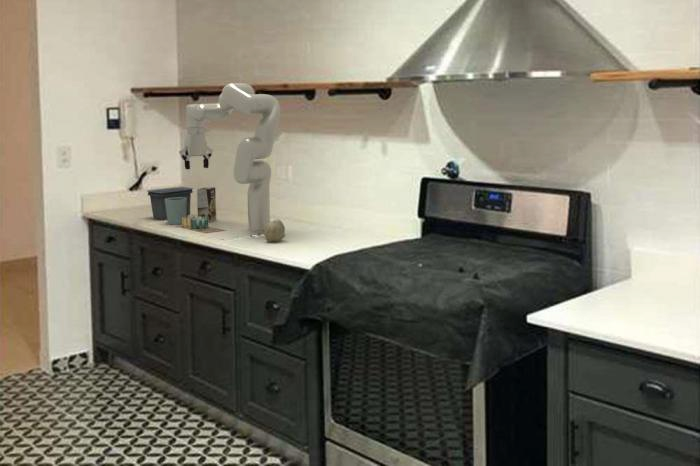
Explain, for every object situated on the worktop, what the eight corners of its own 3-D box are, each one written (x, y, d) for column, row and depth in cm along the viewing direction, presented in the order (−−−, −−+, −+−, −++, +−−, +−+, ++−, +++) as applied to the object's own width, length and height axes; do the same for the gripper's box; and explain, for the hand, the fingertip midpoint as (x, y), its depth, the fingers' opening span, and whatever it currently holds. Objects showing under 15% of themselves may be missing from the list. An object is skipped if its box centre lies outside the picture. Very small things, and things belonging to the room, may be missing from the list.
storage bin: (160, 221, 395) (158, 192, 392) (143, 218, 405) (141, 189, 403) (197, 216, 409) (196, 188, 407) (180, 213, 420) (178, 186, 418)
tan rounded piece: (281, 245, 340) (288, 222, 341) (283, 245, 332) (289, 222, 332) (259, 239, 339) (266, 216, 339) (260, 239, 331) (267, 215, 331)
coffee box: (210, 223, 388) (209, 189, 385) (197, 222, 389) (196, 189, 387) (217, 220, 397) (215, 187, 394) (204, 219, 398) (203, 186, 395)
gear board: (227, 233, 357) (226, 219, 355) (205, 236, 349) (204, 221, 348) (196, 227, 376) (196, 213, 375) (175, 229, 369) (174, 215, 368)
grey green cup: (189, 224, 384) (188, 199, 382) (167, 225, 380) (166, 200, 379) (185, 221, 393) (184, 196, 392) (164, 222, 390) (162, 197, 388)
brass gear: (202, 226, 369) (202, 217, 368) (187, 227, 364) (187, 219, 363) (193, 224, 374) (193, 215, 374) (179, 226, 370) (179, 217, 369)
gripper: (207, 130, 384) (208, 166, 387) (174, 131, 373) (176, 169, 376) (215, 131, 379) (217, 167, 382) (182, 132, 368) (184, 170, 370)
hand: (196, 168), depth 379 cm, fingers open, 9 cm apart
